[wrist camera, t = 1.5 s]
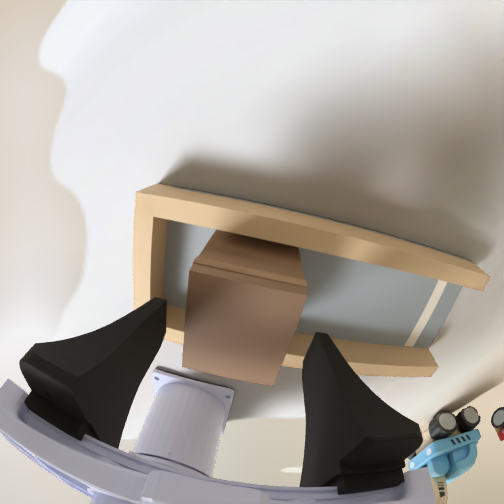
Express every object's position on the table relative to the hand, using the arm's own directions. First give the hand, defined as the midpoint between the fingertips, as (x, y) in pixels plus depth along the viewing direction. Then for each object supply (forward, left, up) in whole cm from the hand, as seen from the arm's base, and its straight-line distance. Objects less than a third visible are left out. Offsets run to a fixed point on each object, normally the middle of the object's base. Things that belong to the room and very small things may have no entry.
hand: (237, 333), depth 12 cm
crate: (0, 0, -6) cm, 6 cm away
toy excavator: (-19, -29, -7) cm, 35 cm away
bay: (0, -5, -6) cm, 8 cm away
